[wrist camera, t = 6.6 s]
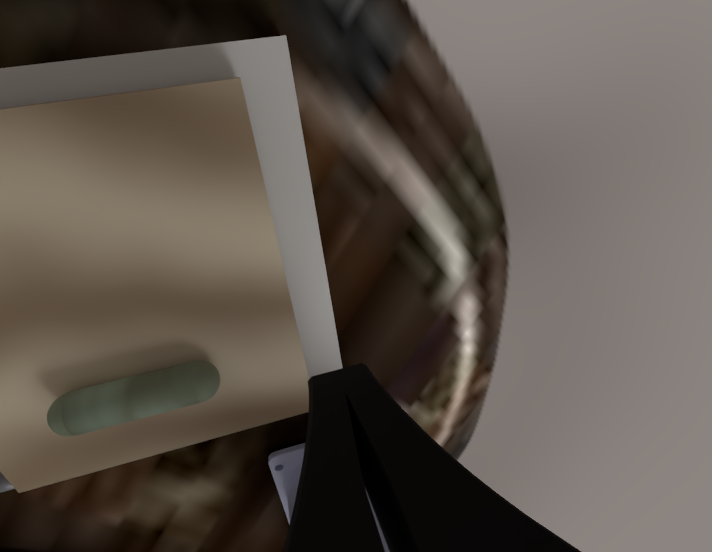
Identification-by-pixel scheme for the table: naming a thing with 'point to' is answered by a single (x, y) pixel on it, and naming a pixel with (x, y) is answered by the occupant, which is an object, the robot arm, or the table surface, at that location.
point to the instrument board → (137, 282)
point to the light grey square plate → (272, 138)
